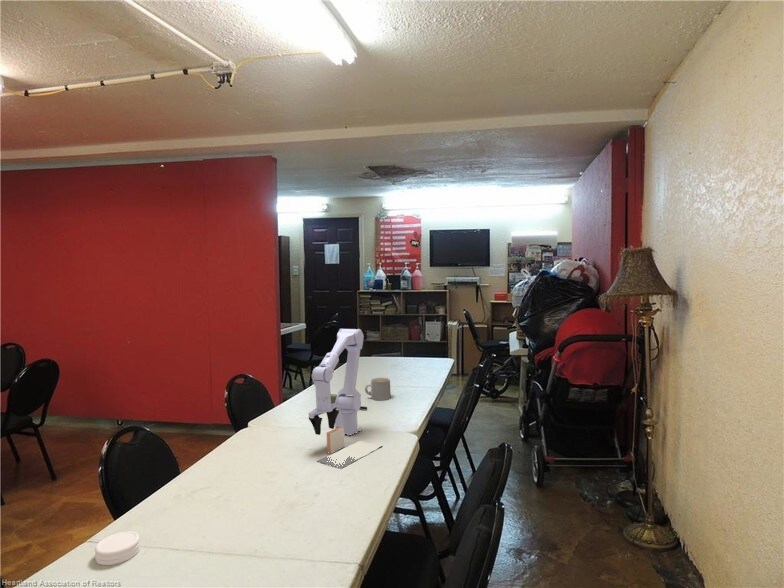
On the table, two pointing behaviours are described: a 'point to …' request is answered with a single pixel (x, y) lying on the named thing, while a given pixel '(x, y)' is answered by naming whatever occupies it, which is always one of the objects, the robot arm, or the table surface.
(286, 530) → the table surface
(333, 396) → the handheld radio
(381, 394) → the coffee mug
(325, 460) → the rubber mat
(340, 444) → the peach square slab
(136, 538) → the white thick disc
